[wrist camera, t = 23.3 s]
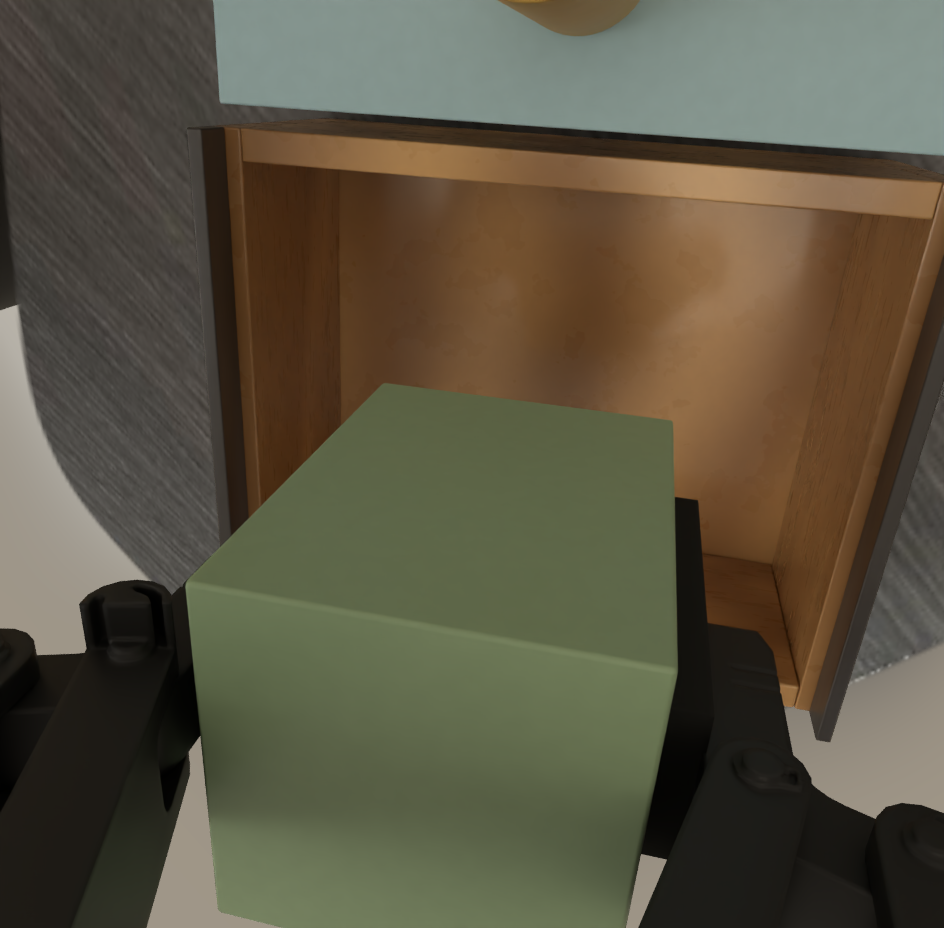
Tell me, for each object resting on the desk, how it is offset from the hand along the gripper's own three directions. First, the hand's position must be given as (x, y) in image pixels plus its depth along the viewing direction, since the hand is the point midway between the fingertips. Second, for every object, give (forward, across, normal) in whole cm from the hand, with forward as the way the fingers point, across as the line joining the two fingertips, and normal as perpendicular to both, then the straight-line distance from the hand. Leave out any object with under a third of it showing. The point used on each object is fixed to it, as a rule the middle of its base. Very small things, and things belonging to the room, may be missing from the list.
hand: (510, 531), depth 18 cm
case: (+13, 0, 0) cm, 13 cm away
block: (0, 0, 0) cm, 0 cm away
